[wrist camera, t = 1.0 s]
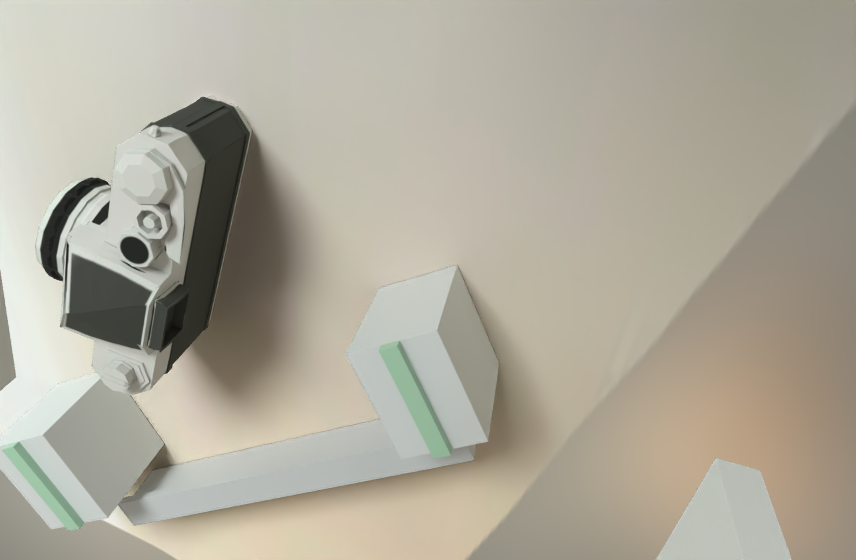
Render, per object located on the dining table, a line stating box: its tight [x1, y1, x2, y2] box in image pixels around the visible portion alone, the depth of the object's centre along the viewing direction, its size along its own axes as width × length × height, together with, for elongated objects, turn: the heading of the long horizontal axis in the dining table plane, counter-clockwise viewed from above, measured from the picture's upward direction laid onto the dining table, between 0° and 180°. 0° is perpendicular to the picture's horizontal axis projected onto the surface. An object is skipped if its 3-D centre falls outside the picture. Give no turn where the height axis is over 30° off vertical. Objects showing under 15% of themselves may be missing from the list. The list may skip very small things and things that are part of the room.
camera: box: [35, 96, 252, 395], centre depth 35 cm, size 16×9×10 cm, turn 160°
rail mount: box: [0, 265, 499, 531], centre depth 41 cm, size 10×31×8 cm, turn 113°
